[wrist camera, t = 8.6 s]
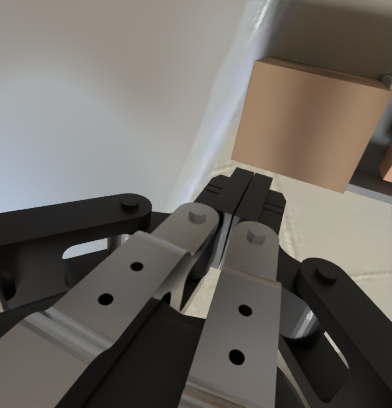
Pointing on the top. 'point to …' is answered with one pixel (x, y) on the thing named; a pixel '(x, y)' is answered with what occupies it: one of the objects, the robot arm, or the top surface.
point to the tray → (375, 158)
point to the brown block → (308, 121)
